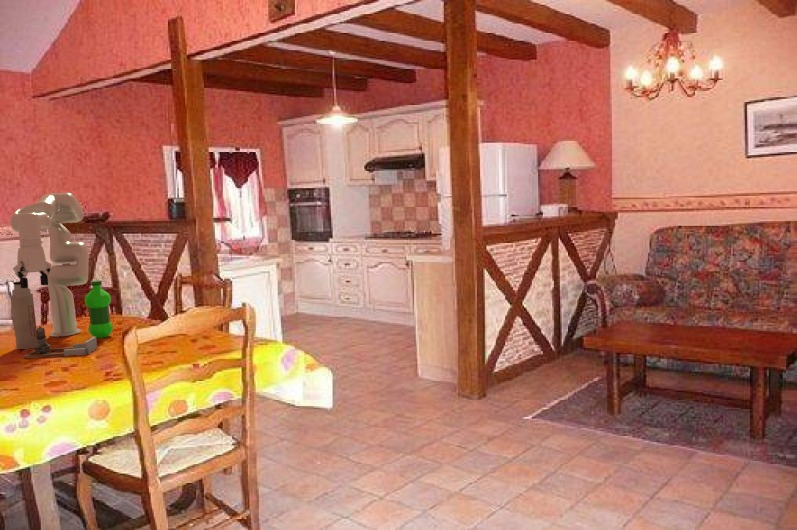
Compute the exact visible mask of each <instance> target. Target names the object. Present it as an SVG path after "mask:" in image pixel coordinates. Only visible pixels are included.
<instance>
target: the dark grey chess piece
mask: <svg viewBox="0 0 797 530" xmlns="http://www.w3.org/2000/svg"><path fill="white" fill-rule="evenodd" d="M36 331H37V337H36V338H37V342H38V343H37V346H35V347H34V348H33V349H34V350H36V352H38V353H37V354H50V353H51V352H47V351H49V349H51V345H52V344H49V343H48V342H47V335H46V330H45V328H44V327H42V326H41V325H38V327H37V330H36Z"/></svg>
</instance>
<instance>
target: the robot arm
mask: <svg viewBox="0 0 797 530" xmlns="http://www.w3.org/2000/svg"><path fill="white" fill-rule="evenodd" d="M84 215H85V213H84V209H83V206H82V205H81V203H80V202H79V200H78V199H77V197H76V196H74V194H72V193H70V192H61V193H60V192H54V193H53V192H52V193H51V192H50V193H46V194H43V195H42V196H41V197H40V198H39V200H37V202H35V203H32V204H29V205H26V206H24V207H20V208H18V209H17V210H16V211H14V212H13V213H12V215H11V217H10V226H11V227H10V228H11V229H12V230H14V231H15V232H18V239H19V247H18V249H17V262H16V263H17V264H16V265H15V266H13V267H12V270H13V272H14V274H15V275H16V276H17V278H18V279H19V281H20V285H21V288H29V282H28V281H29V280H28V277H27V276H28V274H29V273H36V272H37V273H39V274H40V276H39V279H40V285H41V286H47V289H48V293H49V294H48V295H49V301H50V311H51V320H52V327H53V328H52V330H53V331H51V332H50V333H49V336H50V337H52V338H53V337H58V338H59V337H60V336H61V337H68V336H74V335H77V334H80V333H82V330H81V328H78V327H77V326H78V324H79V323H78V321H77V318H76V310H75V309H76V308H75V301H74V294H73V292H72V291H71V290H70V289H69V288H68V287H70V286H81V285H82V286H83V285H85V284H86V283H87V282H88V280H89V264H90V263H89V260H90V259H89V256H90V255H89V248H88V246H87V245H86V243H84V242H81V241H79V242H77V241H76V242H72V234H71V232H70V230H68V229H67V228H68V227H67V228H66V227H65V226H64V225H63V224H67V223H70V224H71V223H79V222H81V221H82V220H83V219H84ZM46 230H48V232H49V237H50V238H49V239H50V241H49V258H50V261H51V262H52V263H54V264H55V265H52V263H50V262H48V261H46V260H47V259H46V253H45V250H44V248H43V246H42V244H43V240H42V236H41V234H42V233H41V232H43V231H46Z"/></svg>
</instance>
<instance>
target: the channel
mask: <svg viewBox="0 0 797 530" xmlns="http://www.w3.org/2000/svg"><path fill="white" fill-rule="evenodd" d="M65 349H73V346H72V347H59V348H57V347H56V348H50V349H49V351H47V352H49V353H51V352H50V351H61V352H52V353H51V354H39V353H37V352H36V350H35V349H34V350H33V351H30V352H28V353H27V354H25V355H23V359H24V360H26V359H25V358H31V359H42V358H41V357H46V358H52V357H51V356H61V357H65V356H64V350H65ZM34 354H35V355H34ZM39 357H40V358H39Z"/></svg>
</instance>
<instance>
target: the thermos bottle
mask: <svg viewBox="0 0 797 530" xmlns="http://www.w3.org/2000/svg"><path fill="white" fill-rule="evenodd" d="M11 293H12V295H10V302H11V311H12V319H13V326H14V327H13V328H14V337H15V344H16V346H15V347H16V350H18V349H25V350H30V349H29V348H32V349H35V348H34V347H35V346H37V343H38V342H37V338H36V337H37V331H36V330H37V329H38V327H37V321H36V320H37V319H36V313H35V304H34V296H33V295H34V294H33V293H32V291H31V289H30V287H28V288H21V285H20V280H19V281H14V282H13V289H12V290H11Z"/></svg>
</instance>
